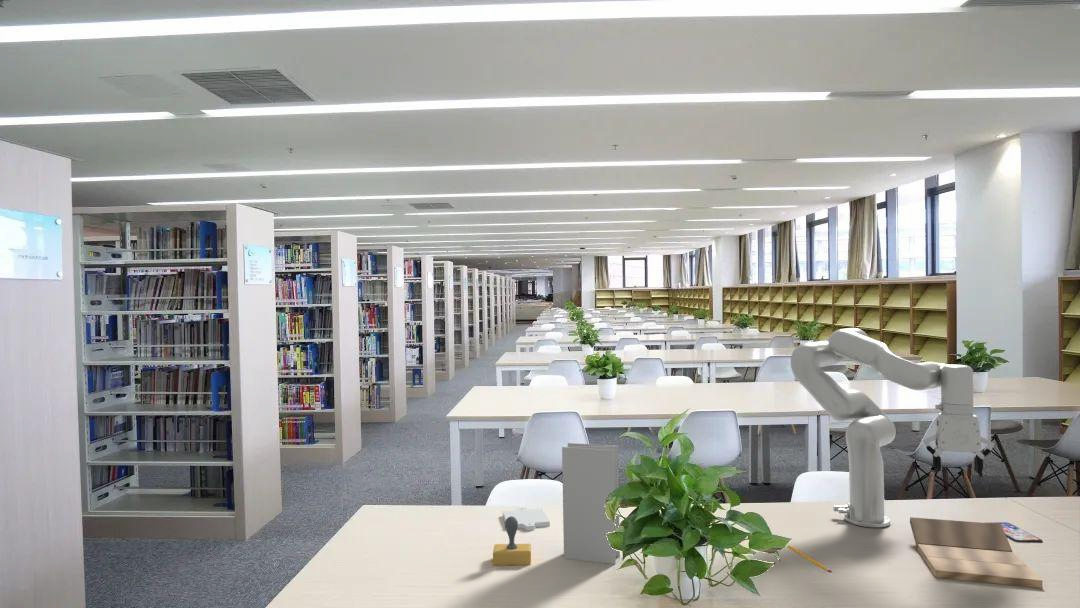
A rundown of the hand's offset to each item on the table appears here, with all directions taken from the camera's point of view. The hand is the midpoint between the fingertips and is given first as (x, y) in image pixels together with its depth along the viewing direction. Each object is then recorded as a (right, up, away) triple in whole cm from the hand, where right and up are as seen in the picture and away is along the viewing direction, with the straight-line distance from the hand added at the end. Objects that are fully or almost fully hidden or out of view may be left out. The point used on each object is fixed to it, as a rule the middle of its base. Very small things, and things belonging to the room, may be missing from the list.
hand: (957, 471), depth 180 cm
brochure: (-102, -22, -4) cm, 104 cm away
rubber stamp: (-123, -23, -6) cm, 125 cm away
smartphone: (+21, -21, +8) cm, 31 cm away
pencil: (-45, -22, -7) cm, 50 cm away
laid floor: (-5, -21, -16) cm, 26 cm away
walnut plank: (-1, -18, -2) cm, 18 cm away
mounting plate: (-120, -23, +26) cm, 125 cm away
